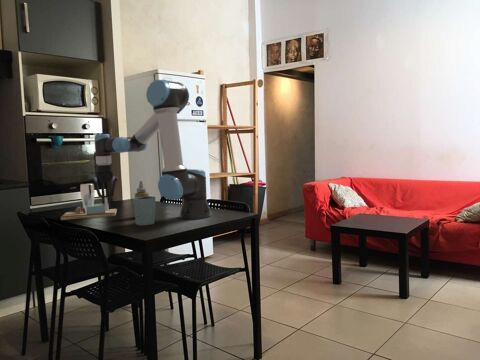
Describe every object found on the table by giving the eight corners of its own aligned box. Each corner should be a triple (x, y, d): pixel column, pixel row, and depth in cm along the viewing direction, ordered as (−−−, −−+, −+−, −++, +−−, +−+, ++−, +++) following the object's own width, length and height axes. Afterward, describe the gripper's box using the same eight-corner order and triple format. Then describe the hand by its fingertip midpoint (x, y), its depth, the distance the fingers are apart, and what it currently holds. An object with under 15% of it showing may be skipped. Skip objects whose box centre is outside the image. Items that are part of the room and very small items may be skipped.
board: (114, 216, 217) (114, 208, 216) (60, 220, 211) (60, 212, 210) (116, 211, 233) (116, 204, 233) (66, 214, 227) (66, 207, 227)
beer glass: (98, 211, 226) (96, 183, 225) (90, 213, 220) (88, 184, 218) (87, 211, 228) (85, 183, 227) (79, 213, 222) (77, 185, 220)
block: (105, 213, 217) (104, 205, 217) (86, 214, 215) (86, 206, 214) (105, 212, 219) (105, 205, 218) (87, 214, 217) (86, 206, 216)
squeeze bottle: (147, 218, 206) (145, 181, 205) (131, 218, 208) (129, 182, 206) (153, 215, 214) (151, 180, 213) (139, 215, 216) (137, 180, 214)
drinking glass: (134, 226, 188) (133, 199, 186) (133, 222, 197) (132, 196, 196) (157, 224, 190) (156, 197, 189) (155, 220, 200) (154, 195, 199)
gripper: (117, 163, 221) (120, 208, 223) (91, 164, 218) (94, 209, 220) (116, 164, 214) (119, 210, 216) (89, 165, 211) (92, 212, 213)
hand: (106, 210), depth 218 cm, fingers closed
